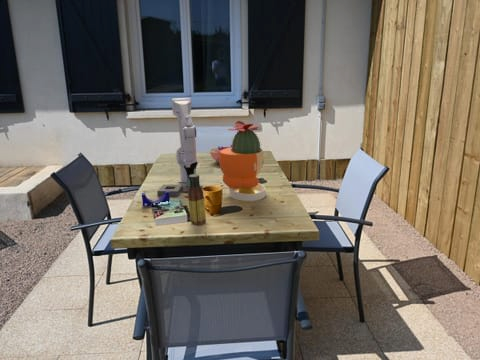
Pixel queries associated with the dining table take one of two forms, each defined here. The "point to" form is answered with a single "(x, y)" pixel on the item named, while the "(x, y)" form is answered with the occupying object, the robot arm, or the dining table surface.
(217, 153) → the cell model
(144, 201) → the cable clip
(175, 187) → the socket block
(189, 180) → the plug
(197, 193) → the sauce bottle
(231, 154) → the potted cactus
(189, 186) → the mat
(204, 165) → the dining table surface
